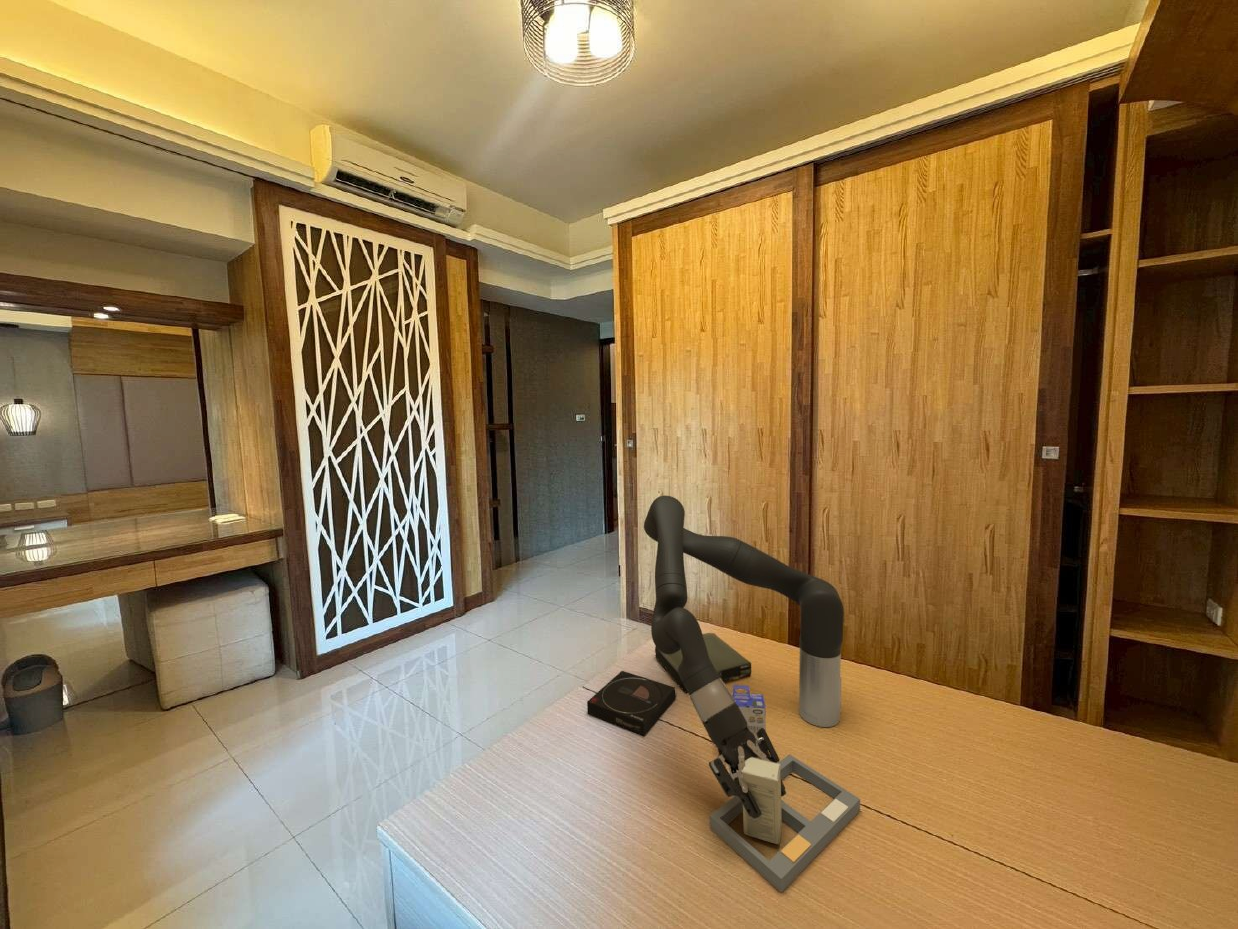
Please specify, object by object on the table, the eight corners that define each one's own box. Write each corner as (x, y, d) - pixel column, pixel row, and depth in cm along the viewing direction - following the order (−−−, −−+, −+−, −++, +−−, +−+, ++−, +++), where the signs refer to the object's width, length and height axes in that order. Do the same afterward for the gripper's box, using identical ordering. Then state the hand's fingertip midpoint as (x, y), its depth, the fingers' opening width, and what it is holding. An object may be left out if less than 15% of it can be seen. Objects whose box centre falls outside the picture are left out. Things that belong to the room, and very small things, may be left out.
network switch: (691, 701, 125) (691, 683, 124) (646, 661, 145) (645, 645, 145) (758, 676, 135) (758, 659, 135) (707, 641, 156) (707, 627, 155)
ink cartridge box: (763, 744, 107) (763, 683, 106) (767, 761, 102) (767, 698, 100) (719, 740, 109) (718, 681, 108) (720, 757, 104) (719, 695, 102)
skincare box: (782, 826, 85) (782, 763, 84) (779, 846, 82) (779, 781, 80) (745, 814, 88) (745, 753, 87) (741, 833, 84) (741, 770, 83)
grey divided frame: (789, 764, 101) (789, 752, 101) (860, 811, 89) (860, 797, 89) (709, 828, 87) (709, 814, 86) (781, 893, 74) (781, 877, 74)
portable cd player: (676, 700, 125) (675, 686, 125) (644, 738, 111) (643, 723, 111) (623, 682, 134) (623, 669, 134) (587, 716, 120) (587, 701, 120)
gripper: (731, 701, 97) (781, 790, 89) (681, 731, 89) (731, 832, 81) (753, 689, 93) (807, 781, 85) (701, 719, 84) (756, 825, 76)
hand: (769, 805), depth 83 cm, fingers closed on skincare box, 6 cm apart
